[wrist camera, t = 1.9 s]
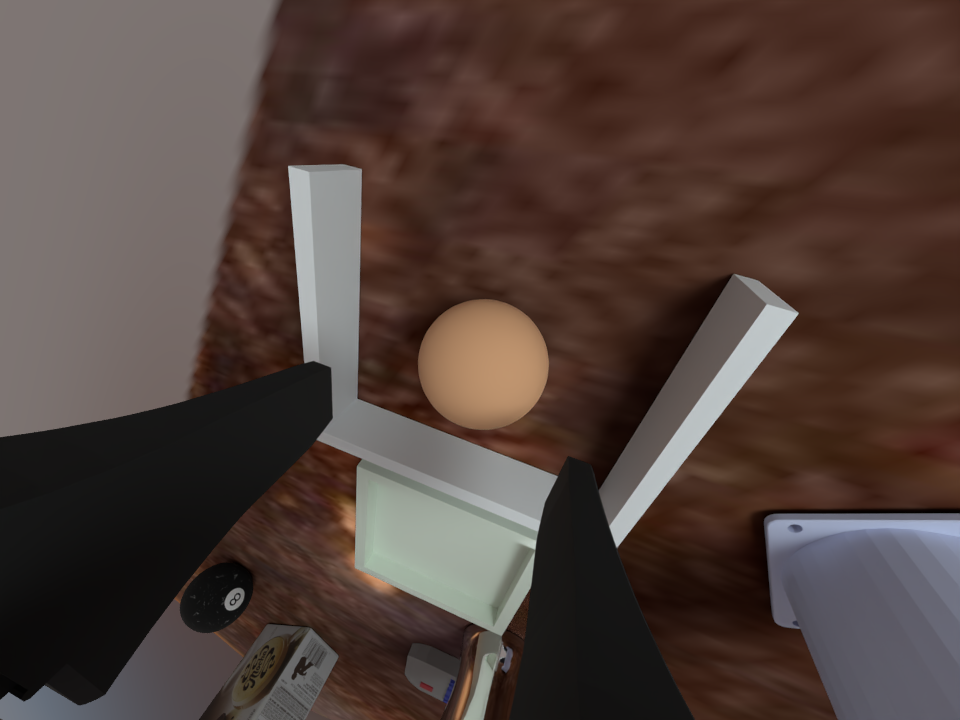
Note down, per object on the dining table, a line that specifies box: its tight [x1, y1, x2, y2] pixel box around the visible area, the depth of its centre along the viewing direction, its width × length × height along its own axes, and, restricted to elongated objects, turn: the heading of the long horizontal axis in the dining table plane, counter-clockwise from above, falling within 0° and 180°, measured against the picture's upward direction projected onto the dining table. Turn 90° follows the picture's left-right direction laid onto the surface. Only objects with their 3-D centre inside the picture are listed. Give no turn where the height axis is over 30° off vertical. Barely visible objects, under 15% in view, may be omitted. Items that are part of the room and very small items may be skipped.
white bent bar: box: [288, 164, 799, 547], centre depth 15 cm, size 13×16×3 cm
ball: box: [418, 299, 549, 430], centre depth 14 cm, size 5×5×5 cm
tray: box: [355, 459, 538, 636], centre depth 24 cm, size 12×12×2 cm
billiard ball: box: [180, 563, 253, 633], centre depth 37 cm, size 6×6×6 cm
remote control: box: [405, 643, 460, 703], centre depth 35 cm, size 8×23×2 cm, turn 80°
